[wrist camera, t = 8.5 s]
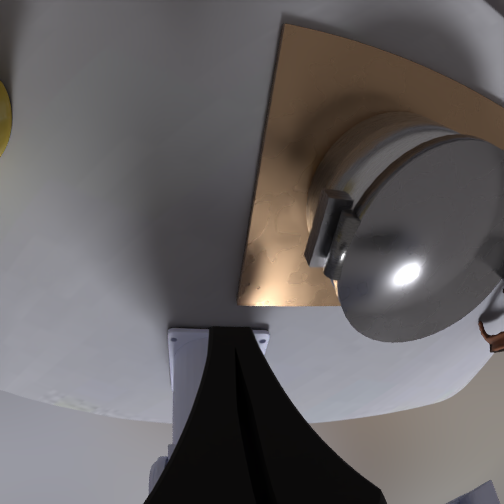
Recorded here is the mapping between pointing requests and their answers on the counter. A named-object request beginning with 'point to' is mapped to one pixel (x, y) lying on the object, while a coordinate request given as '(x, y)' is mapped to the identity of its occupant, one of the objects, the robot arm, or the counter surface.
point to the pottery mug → (493, 339)
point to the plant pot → (4, 118)
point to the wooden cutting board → (338, 152)
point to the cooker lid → (422, 240)
